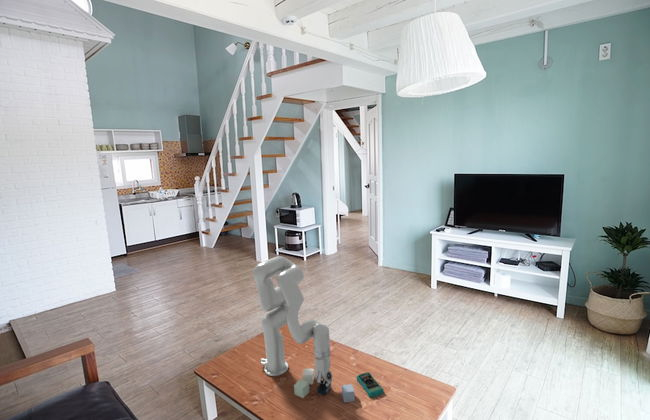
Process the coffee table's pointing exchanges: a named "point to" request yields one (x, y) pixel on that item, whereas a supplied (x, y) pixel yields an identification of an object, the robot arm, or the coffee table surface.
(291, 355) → the coffee table surface
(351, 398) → the slate cube
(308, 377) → the cream cube
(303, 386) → the sage cube
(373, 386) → the digital multimeter
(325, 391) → the watch
